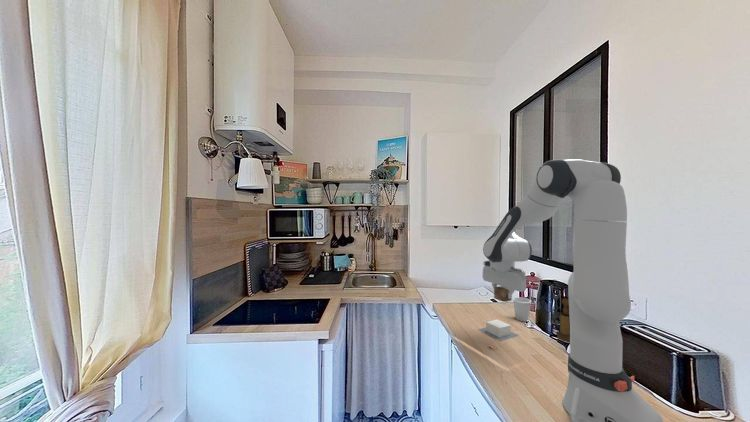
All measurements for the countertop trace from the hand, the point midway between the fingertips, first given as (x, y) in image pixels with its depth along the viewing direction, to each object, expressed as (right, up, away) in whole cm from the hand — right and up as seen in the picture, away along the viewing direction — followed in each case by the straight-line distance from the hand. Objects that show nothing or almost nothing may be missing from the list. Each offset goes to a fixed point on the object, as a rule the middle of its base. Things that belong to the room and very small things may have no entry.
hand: (502, 295), depth 119 cm
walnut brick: (0, -2, 0) cm, 2 cm away
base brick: (-2, -17, 0) cm, 17 cm away
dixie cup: (+19, -18, +18) cm, 31 cm away
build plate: (-2, -18, 0) cm, 18 cm away
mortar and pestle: (+25, -18, -4) cm, 31 cm away
